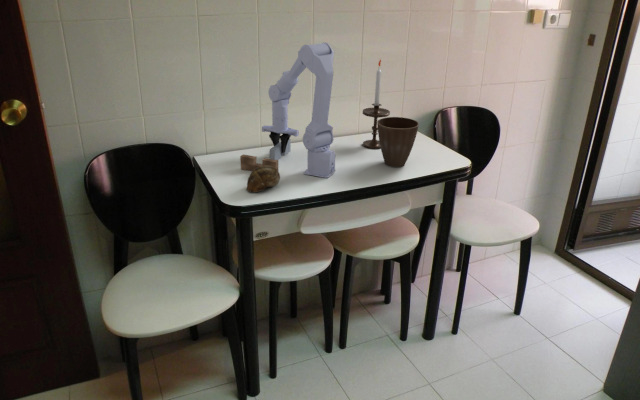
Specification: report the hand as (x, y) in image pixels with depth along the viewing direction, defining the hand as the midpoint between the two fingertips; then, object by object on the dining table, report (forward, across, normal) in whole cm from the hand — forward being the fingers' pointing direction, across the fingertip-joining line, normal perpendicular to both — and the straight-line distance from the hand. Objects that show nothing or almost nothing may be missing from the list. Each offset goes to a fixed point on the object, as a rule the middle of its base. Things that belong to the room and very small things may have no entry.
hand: (280, 151), depth 196 cm
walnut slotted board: (+2, 0, +17) cm, 17 cm away
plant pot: (+2, -42, -11) cm, 43 cm away
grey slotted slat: (+2, 0, 0) cm, 2 cm away
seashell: (+2, -8, +29) cm, 31 cm away
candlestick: (+2, -29, -28) cm, 40 cm away
